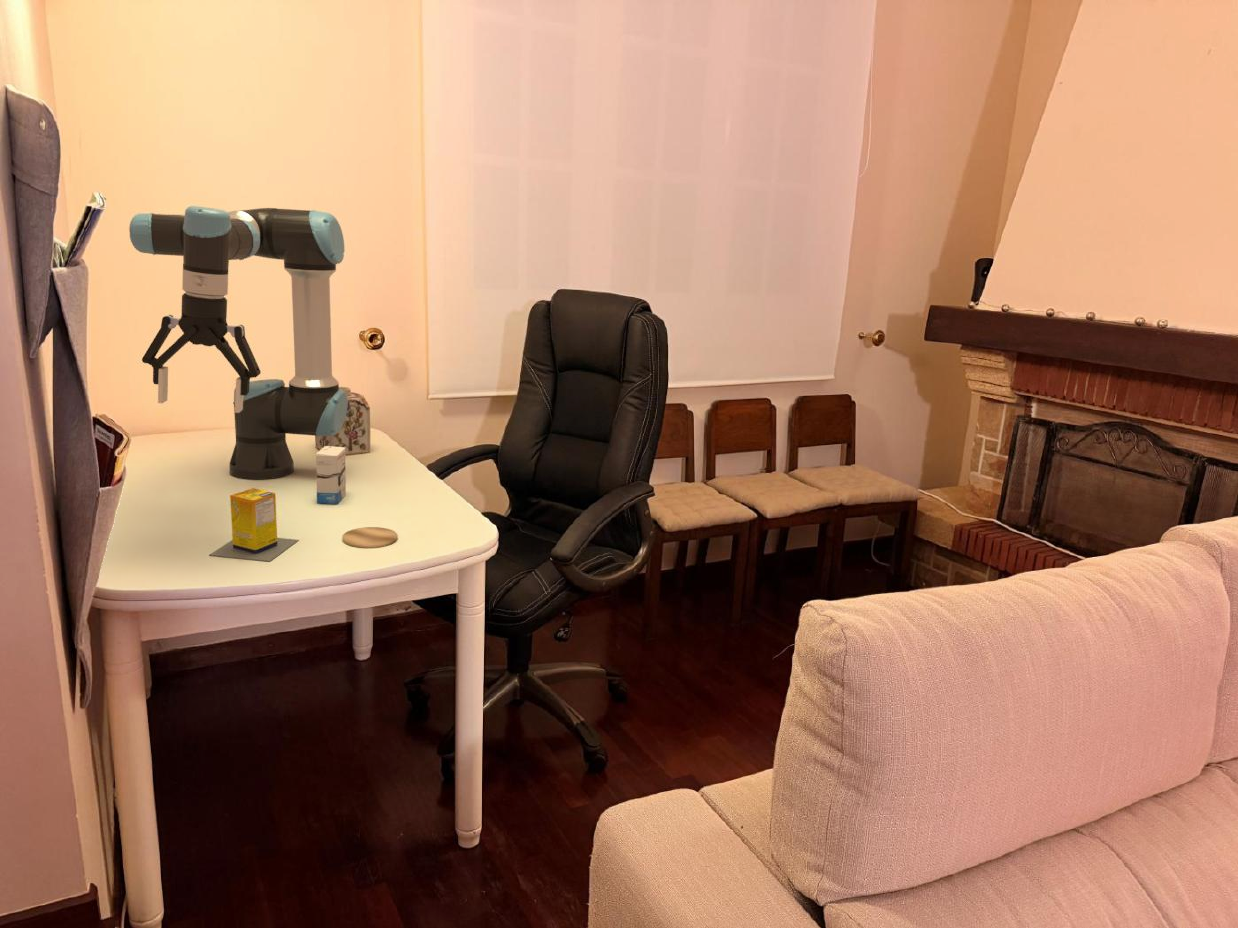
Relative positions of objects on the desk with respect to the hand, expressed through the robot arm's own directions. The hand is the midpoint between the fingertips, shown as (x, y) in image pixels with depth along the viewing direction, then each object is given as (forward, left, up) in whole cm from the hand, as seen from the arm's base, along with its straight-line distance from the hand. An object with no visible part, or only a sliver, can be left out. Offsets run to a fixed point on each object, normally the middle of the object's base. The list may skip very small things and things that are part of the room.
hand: (200, 406), depth 164 cm
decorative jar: (-76, -4, -27) cm, 81 cm away
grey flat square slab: (+1, +10, -27) cm, 29 cm away
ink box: (-33, +11, -27) cm, 44 cm away
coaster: (-10, +29, -27) cm, 41 cm away
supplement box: (+1, +10, -27) cm, 29 cm away
